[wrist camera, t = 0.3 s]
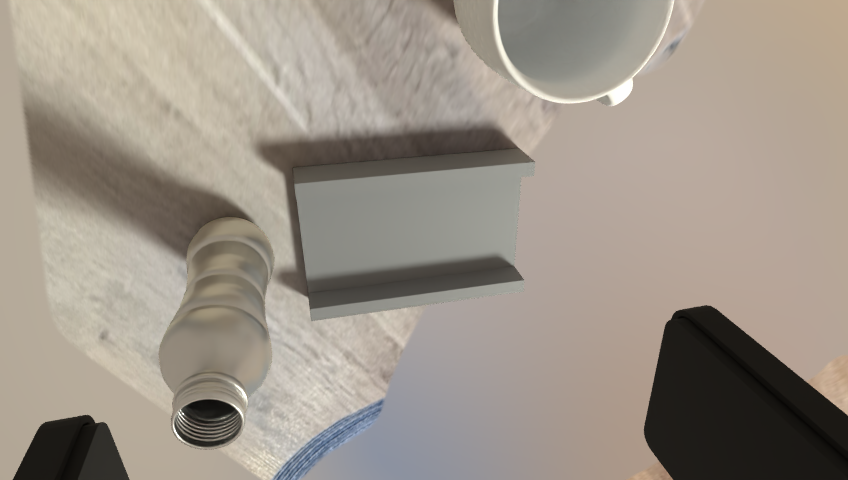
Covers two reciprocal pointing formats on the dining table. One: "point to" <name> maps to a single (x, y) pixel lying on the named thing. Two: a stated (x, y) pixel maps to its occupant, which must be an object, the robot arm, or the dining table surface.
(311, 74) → the dining table surface
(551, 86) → the mug
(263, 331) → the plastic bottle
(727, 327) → the robot arm
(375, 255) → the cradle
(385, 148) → the dining table surface
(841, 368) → the dining table surface
